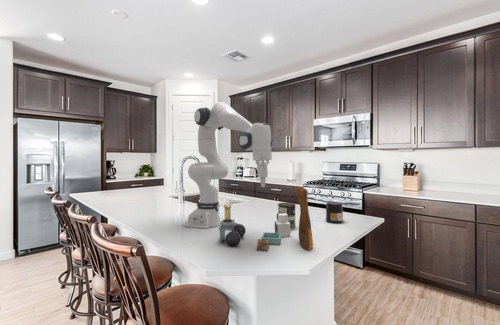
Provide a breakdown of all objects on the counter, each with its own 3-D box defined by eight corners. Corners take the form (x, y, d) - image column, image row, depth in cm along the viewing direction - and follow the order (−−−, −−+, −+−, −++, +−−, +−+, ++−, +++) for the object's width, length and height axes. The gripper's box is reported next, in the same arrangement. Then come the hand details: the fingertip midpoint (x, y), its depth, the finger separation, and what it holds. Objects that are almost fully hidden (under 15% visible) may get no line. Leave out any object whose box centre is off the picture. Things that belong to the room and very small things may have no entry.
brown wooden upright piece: (300, 252, 111) (299, 189, 111) (294, 237, 130) (294, 184, 130) (315, 252, 111) (315, 189, 110) (307, 238, 130) (307, 184, 129)
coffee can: (295, 225, 153) (295, 202, 152) (295, 230, 143) (295, 206, 142) (278, 224, 155) (278, 202, 154) (277, 229, 145) (277, 205, 144)
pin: (223, 225, 125) (222, 206, 125) (225, 223, 129) (224, 204, 129) (230, 226, 125) (230, 206, 124) (232, 223, 128) (232, 205, 128)
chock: (257, 250, 113) (257, 242, 113) (258, 247, 117) (258, 239, 117) (268, 251, 113) (268, 242, 112) (268, 248, 117) (268, 239, 116)
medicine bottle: (274, 233, 139) (274, 211, 138) (287, 232, 139) (287, 211, 139) (277, 237, 131) (277, 214, 131) (290, 236, 132) (290, 214, 132)
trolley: (217, 246, 119) (216, 225, 119) (225, 236, 134) (225, 217, 133) (239, 247, 118) (239, 226, 117) (245, 237, 132) (245, 218, 132)
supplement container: (343, 224, 155) (343, 205, 154) (325, 223, 158) (325, 204, 158) (342, 220, 165) (342, 202, 164) (326, 219, 168) (326, 201, 168)
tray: (261, 244, 122) (261, 237, 122) (263, 237, 131) (263, 232, 130) (280, 245, 120) (280, 238, 120) (280, 238, 129) (280, 233, 129)
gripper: (270, 156, 107) (271, 188, 107) (267, 156, 128) (268, 183, 128) (255, 156, 107) (256, 188, 107) (255, 157, 128) (255, 184, 128)
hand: (262, 186), depth 118 cm, fingers open, 8 cm apart
